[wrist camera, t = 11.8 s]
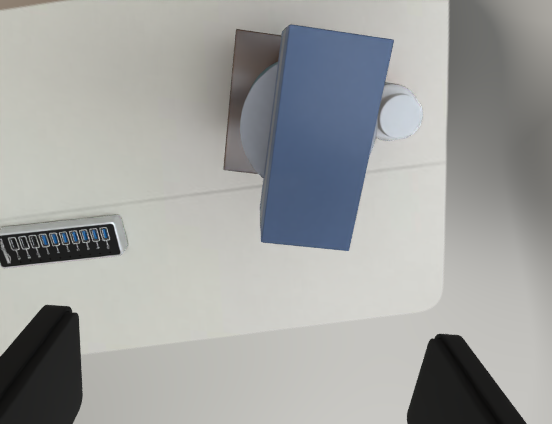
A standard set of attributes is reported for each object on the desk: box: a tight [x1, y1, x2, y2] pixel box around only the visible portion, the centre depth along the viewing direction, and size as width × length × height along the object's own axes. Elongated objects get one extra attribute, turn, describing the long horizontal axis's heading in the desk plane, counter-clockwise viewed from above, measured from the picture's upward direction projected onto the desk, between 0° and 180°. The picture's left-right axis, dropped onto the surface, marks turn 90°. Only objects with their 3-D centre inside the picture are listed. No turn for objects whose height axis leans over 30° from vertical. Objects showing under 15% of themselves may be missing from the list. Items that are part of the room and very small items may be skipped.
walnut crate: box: [224, 29, 281, 174], centre depth 38 cm, size 10×10×16 cm
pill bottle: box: [376, 82, 423, 141], centre depth 42 cm, size 5×5×10 cm
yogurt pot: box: [240, 62, 378, 178], centre depth 27 cm, size 8×8×7 cm
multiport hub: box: [0, 215, 128, 268], centre depth 49 cm, size 4×14×2 cm, turn 96°
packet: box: [260, 25, 394, 251], centre depth 21 cm, size 10×4×5 cm, turn 172°
